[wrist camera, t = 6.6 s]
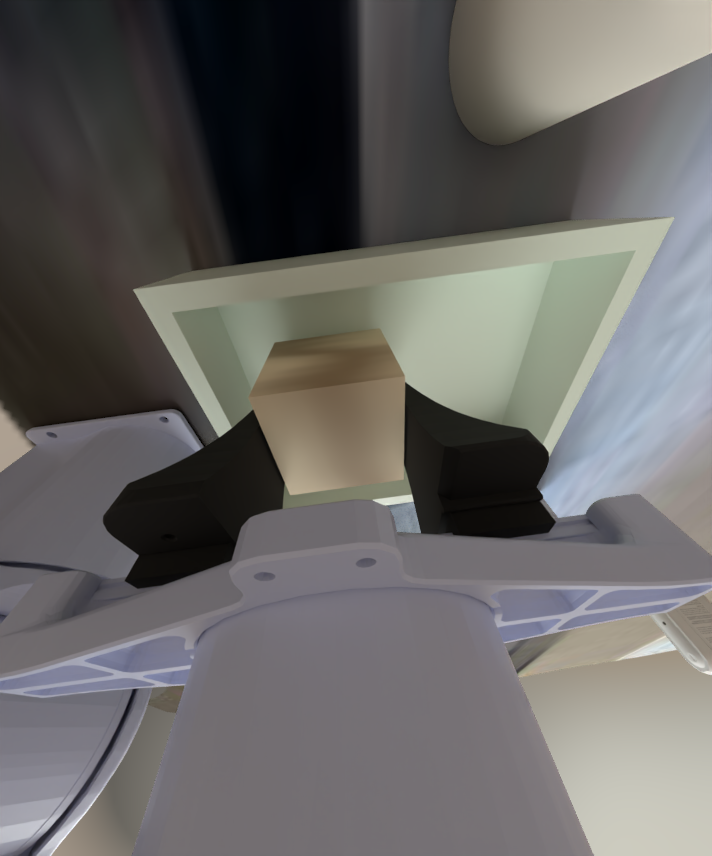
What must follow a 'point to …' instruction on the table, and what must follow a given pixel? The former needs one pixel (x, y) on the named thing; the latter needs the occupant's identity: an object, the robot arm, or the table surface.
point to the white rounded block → (690, 631)
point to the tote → (421, 321)
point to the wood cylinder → (563, 57)
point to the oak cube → (333, 411)
